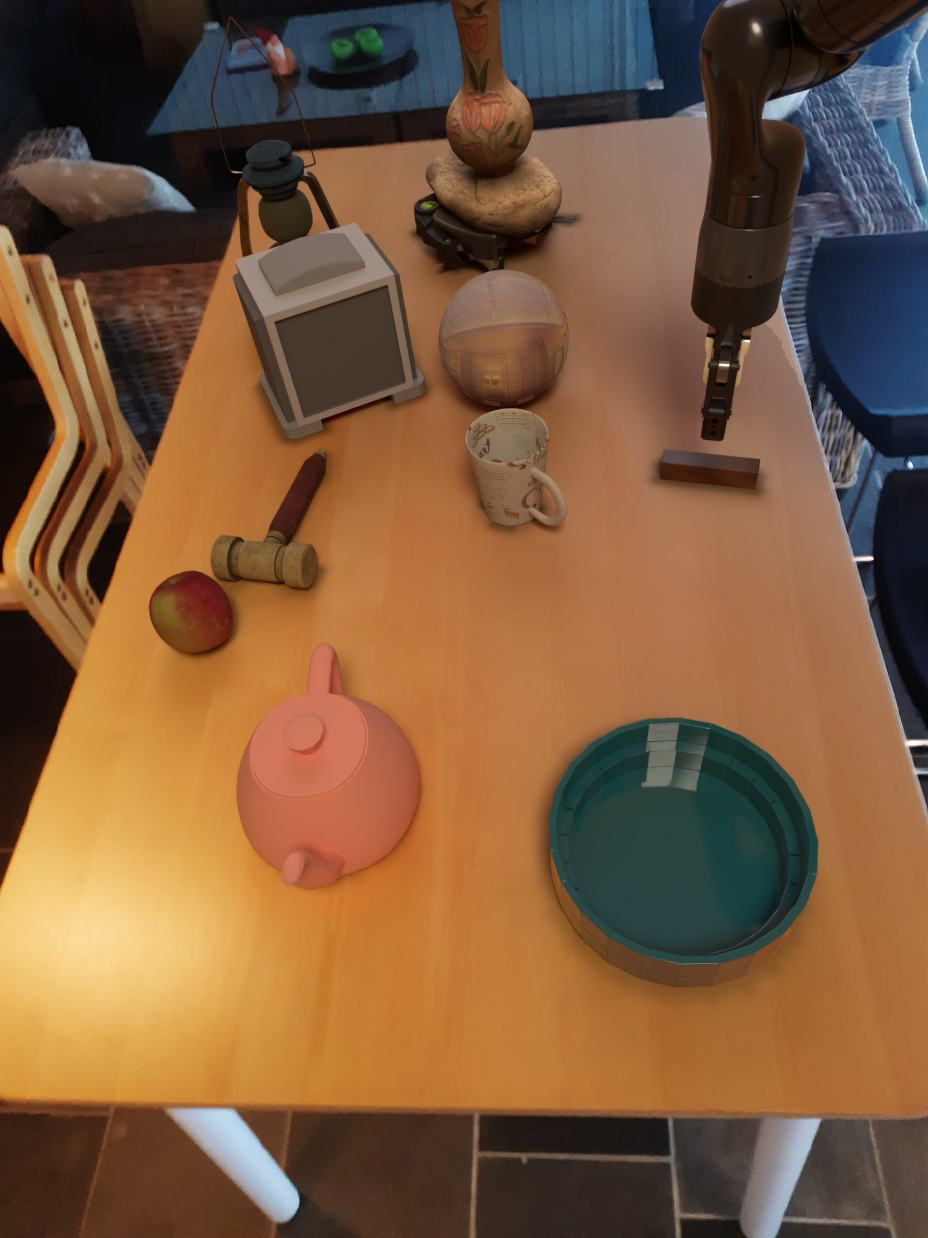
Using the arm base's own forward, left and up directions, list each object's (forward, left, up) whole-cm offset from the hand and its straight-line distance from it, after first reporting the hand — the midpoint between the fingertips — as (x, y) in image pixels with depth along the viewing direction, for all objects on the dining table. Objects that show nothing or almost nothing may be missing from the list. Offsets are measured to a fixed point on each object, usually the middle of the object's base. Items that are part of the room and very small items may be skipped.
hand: (716, 410), depth 88 cm
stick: (0, 0, -9) cm, 9 cm away
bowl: (-2, +44, -9) cm, 45 cm away
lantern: (+58, -27, -9) cm, 65 cm away
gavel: (+43, +14, -9) cm, 46 cm away
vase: (+36, -45, -9) cm, 58 cm away
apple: (+46, +31, -9) cm, 56 cm away
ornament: (+25, -11, -9) cm, 29 cm away
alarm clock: (+46, -9, -9) cm, 48 cm away
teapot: (+26, +46, -9) cm, 54 cm away
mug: (+18, +9, -9) cm, 22 cm away
